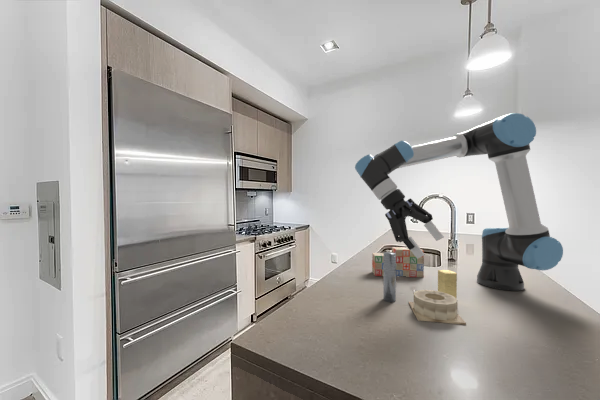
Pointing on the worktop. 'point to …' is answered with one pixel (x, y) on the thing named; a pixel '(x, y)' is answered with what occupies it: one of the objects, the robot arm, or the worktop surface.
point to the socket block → (435, 307)
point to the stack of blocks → (400, 263)
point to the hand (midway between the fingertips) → (431, 247)
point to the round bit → (389, 277)
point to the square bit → (447, 282)
